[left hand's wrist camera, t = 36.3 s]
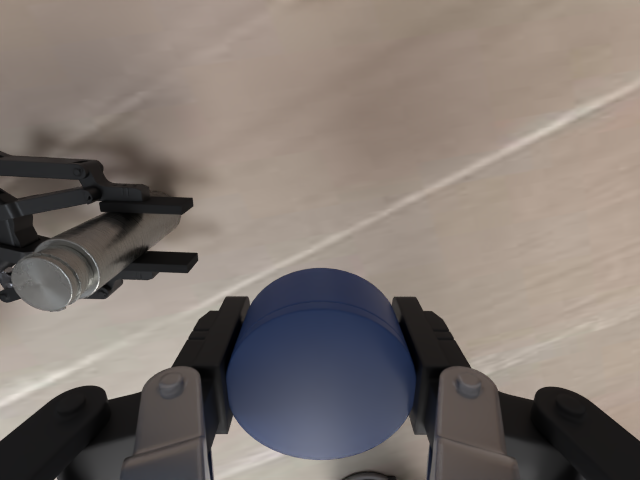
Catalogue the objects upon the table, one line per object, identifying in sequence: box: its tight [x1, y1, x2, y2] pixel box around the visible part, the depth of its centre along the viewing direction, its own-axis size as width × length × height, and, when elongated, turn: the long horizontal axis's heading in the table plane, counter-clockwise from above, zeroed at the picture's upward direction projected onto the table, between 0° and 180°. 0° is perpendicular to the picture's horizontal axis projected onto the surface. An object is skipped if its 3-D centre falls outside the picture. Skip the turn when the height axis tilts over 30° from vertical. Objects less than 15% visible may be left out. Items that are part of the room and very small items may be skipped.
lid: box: [226, 268, 416, 460], centre depth 10 cm, size 5×5×2 cm
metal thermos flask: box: [11, 191, 180, 312], centre depth 29 cm, size 4×4×16 cm
